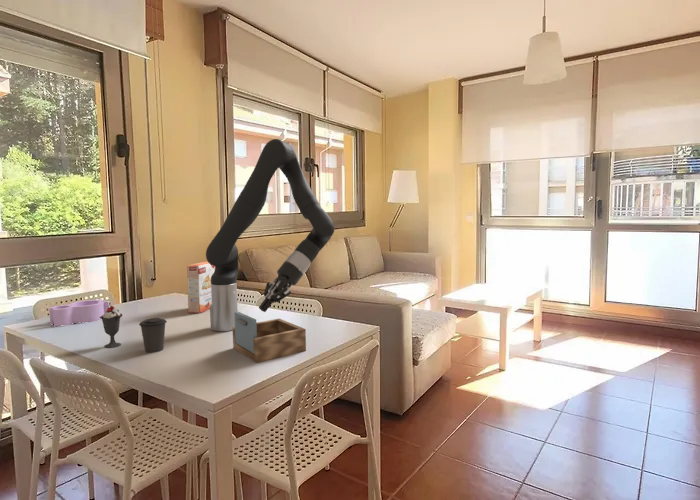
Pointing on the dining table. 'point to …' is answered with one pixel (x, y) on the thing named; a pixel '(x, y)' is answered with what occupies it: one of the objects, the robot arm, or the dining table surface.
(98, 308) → the purple double bowl
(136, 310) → the dining table surface
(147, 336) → the coffee cup
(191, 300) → the cracker box
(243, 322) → the flat rectangular panel
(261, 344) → the open wooden box
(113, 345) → the sundae
